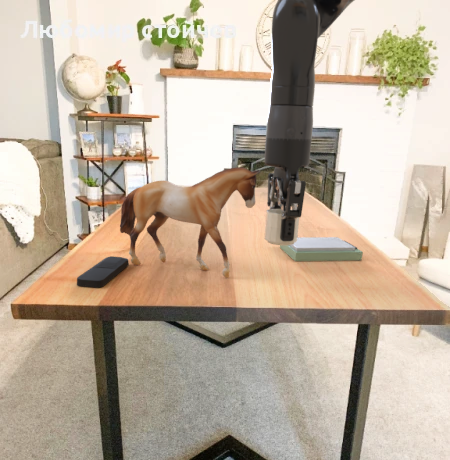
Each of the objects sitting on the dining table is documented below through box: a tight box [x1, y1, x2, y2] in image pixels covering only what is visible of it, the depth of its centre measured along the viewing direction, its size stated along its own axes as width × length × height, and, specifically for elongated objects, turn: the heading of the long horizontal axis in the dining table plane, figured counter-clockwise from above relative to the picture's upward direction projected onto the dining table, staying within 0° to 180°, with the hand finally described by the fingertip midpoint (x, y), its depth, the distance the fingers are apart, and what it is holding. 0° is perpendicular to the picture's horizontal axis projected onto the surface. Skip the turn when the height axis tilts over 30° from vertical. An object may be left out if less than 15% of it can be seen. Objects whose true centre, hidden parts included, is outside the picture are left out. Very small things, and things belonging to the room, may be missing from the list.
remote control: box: [76, 255, 130, 289], centre depth 85 cm, size 5×2×15 cm
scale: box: [279, 236, 364, 262], centre depth 105 cm, size 16×12×3 cm
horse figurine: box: [119, 166, 261, 279], centre depth 87 cm, size 31×8×21 cm, turn 69°
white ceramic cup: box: [264, 208, 300, 246], centre depth 78 cm, size 6×6×6 cm
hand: (281, 236), depth 79 cm, fingers closed on white ceramic cup, 6 cm apart
